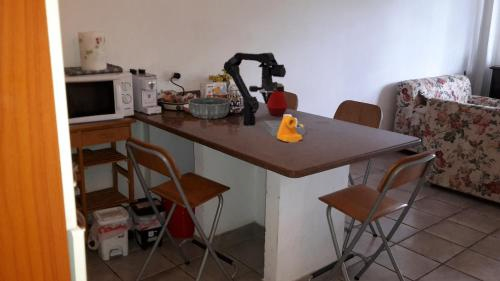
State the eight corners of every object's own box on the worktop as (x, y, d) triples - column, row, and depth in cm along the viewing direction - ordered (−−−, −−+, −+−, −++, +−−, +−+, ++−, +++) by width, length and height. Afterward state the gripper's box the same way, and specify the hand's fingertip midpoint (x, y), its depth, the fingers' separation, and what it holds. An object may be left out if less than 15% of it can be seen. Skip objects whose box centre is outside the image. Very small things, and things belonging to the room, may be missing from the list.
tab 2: (289, 130, 243) (289, 119, 241) (287, 129, 245) (288, 118, 244) (296, 130, 243) (297, 119, 242) (294, 128, 246) (295, 117, 245)
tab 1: (284, 126, 252) (284, 115, 251) (282, 124, 255) (283, 114, 253) (291, 126, 253) (291, 115, 251) (289, 124, 256) (290, 114, 254)
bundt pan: (198, 122, 266) (198, 105, 263) (181, 114, 288) (181, 98, 285) (238, 118, 279) (238, 102, 276) (219, 111, 301) (219, 96, 298)
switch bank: (271, 135, 239) (271, 127, 238) (264, 127, 256) (264, 119, 255) (304, 135, 242) (305, 126, 241) (295, 127, 259) (295, 119, 258)
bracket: (284, 143, 225) (285, 119, 222) (276, 139, 231) (277, 116, 228) (302, 140, 230) (304, 117, 227) (294, 137, 236) (295, 114, 233)
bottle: (288, 118, 285) (289, 85, 280) (266, 117, 285) (267, 85, 280) (286, 113, 300) (288, 82, 295) (266, 112, 300) (267, 81, 295)
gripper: (253, 77, 242) (252, 107, 245) (287, 77, 245) (286, 106, 249) (249, 75, 252) (248, 103, 256) (282, 75, 256) (281, 103, 259)
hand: (266, 104), depth 255 cm, fingers closed
